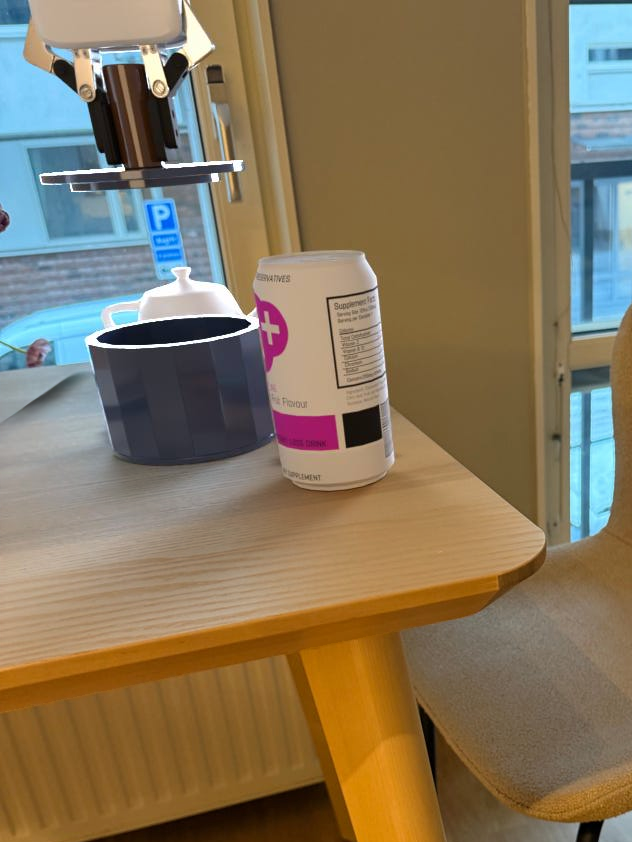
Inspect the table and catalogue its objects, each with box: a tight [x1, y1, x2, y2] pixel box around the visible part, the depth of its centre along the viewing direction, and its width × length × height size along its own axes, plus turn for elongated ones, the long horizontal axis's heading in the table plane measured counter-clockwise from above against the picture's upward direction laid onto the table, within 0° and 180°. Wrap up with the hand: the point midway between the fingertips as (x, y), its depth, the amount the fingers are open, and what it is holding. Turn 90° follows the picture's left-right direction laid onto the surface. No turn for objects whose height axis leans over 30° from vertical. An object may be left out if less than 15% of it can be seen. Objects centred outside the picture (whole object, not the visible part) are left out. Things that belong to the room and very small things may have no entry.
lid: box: [39, 62, 246, 193], centre depth 68 cm, size 15×15×8 cm
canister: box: [84, 315, 277, 466], centre depth 76 cm, size 14×14×9 cm
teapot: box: [100, 266, 258, 330], centre depth 106 cm, size 20×12×10 cm, turn 102°
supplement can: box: [252, 249, 395, 492], centre depth 65 cm, size 8×8×15 cm
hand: (142, 160), depth 69 cm, fingers closed on lid, 3 cm apart
